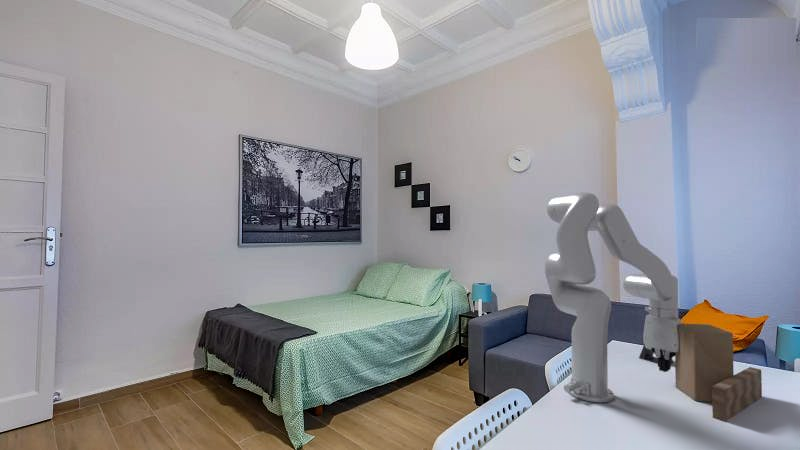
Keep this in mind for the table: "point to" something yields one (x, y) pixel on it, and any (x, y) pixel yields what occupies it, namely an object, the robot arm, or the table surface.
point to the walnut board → (736, 393)
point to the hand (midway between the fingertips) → (664, 370)
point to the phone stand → (650, 355)
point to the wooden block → (702, 359)
